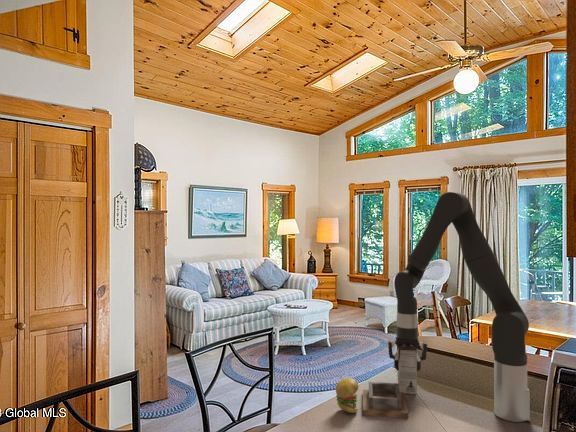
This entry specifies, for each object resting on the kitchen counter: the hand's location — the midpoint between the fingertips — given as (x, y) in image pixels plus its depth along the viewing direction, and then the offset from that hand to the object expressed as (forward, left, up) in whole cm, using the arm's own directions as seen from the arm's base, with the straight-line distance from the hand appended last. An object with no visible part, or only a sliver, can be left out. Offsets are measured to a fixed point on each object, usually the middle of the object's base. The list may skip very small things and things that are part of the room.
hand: (407, 370), depth 156 cm
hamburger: (+21, +22, -7) cm, 31 cm away
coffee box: (0, 0, -7) cm, 7 cm away
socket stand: (+9, +15, -7) cm, 19 cm away
